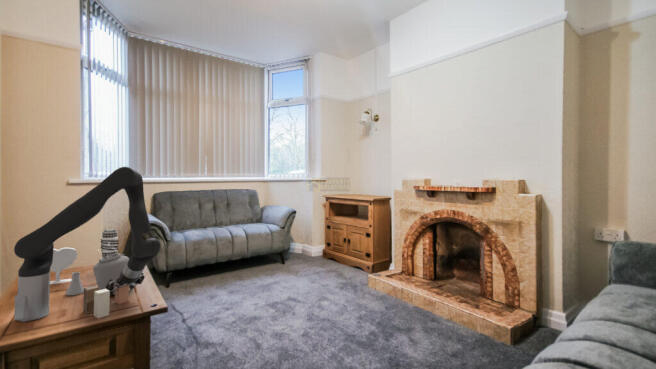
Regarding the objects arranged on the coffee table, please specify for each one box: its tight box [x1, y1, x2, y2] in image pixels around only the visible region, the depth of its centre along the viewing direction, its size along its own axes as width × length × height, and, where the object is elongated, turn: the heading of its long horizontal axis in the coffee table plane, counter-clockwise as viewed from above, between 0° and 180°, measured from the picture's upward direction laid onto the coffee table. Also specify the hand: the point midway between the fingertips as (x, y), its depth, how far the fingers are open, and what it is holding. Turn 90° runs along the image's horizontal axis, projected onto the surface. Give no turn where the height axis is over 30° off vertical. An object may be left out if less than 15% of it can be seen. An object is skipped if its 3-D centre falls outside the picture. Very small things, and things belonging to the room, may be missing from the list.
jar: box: [92, 244, 130, 296], centre depth 151 cm, size 19×15×25 cm
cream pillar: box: [93, 289, 111, 319], centre depth 126 cm, size 4×4×10 cm
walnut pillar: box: [82, 285, 99, 315], centre depth 129 cm, size 4×4×10 cm
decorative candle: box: [100, 228, 120, 258], centre depth 188 cm, size 9×9×25 cm
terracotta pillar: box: [114, 284, 130, 305], centre depth 140 cm, size 4×4×10 cm
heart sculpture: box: [50, 246, 78, 285], centre depth 164 cm, size 16×5×18 cm, turn 134°
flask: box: [64, 271, 85, 296], centre depth 149 cm, size 7×7×10 cm
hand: (120, 291), depth 141 cm, fingers open, 8 cm apart
